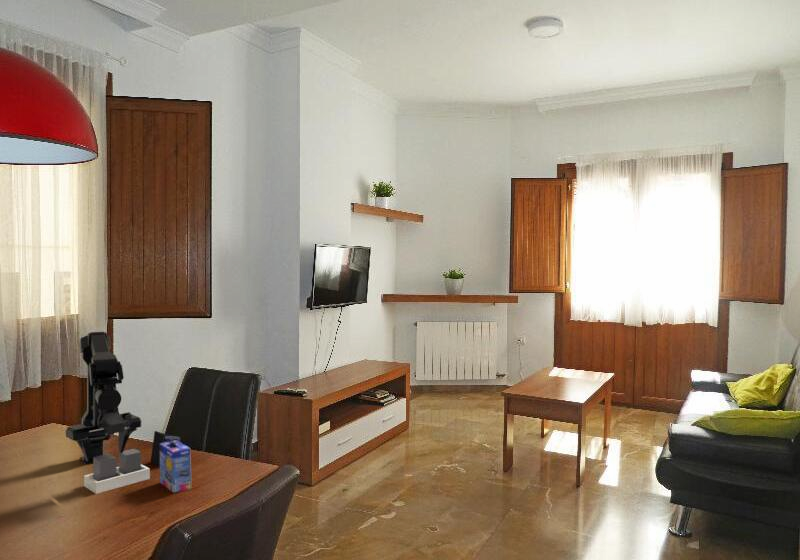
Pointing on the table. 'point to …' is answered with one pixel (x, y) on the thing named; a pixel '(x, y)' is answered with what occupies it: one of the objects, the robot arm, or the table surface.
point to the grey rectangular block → (104, 467)
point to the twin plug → (129, 461)
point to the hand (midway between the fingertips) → (104, 456)
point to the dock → (116, 480)
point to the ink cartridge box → (175, 465)
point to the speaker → (157, 440)
